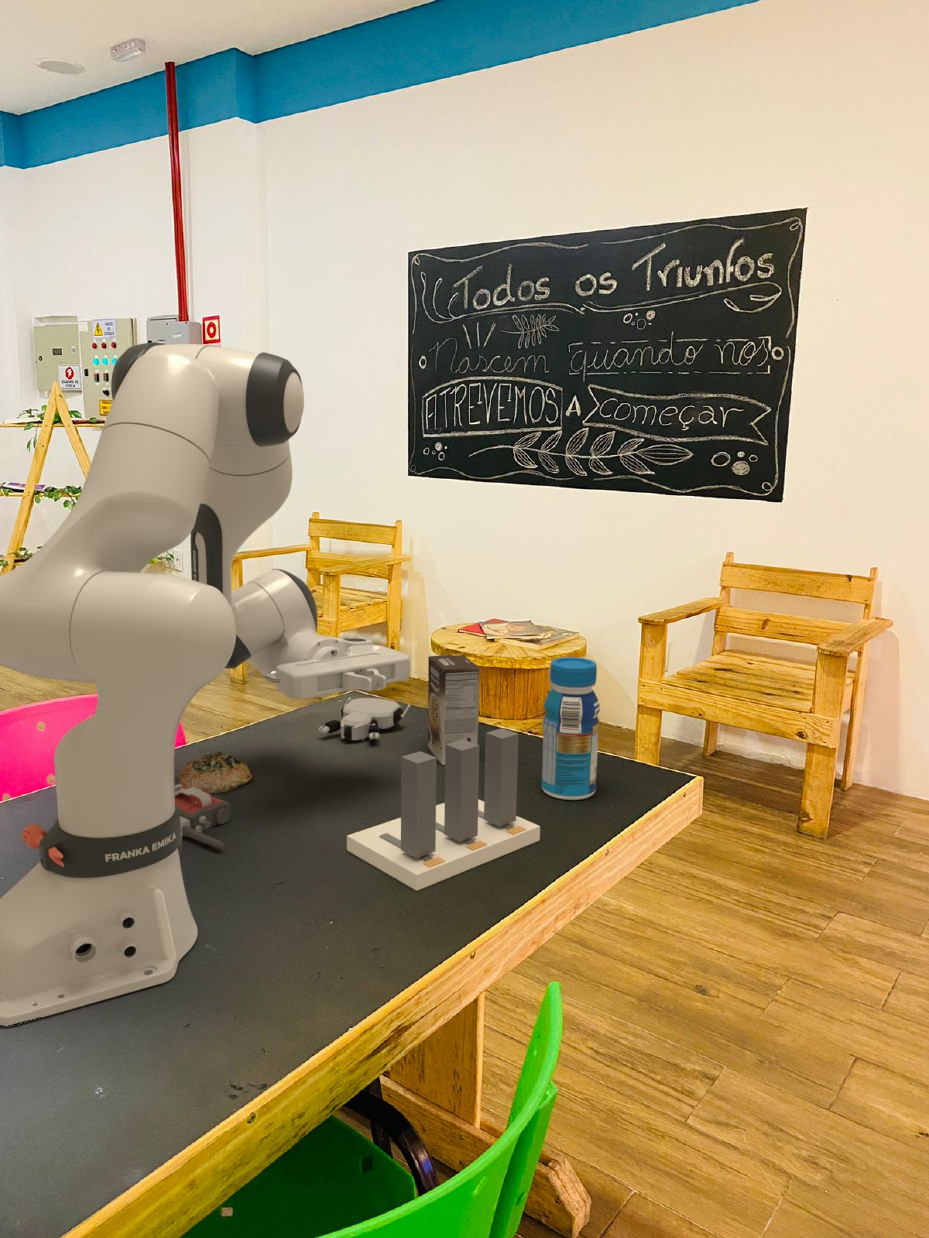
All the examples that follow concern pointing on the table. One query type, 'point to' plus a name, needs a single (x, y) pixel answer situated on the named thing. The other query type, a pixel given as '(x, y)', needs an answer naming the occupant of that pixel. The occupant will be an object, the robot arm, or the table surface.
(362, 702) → the robot toy
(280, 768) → the table surface
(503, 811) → the right switch
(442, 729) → the coffee box
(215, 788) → the bread roll
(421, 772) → the tall grey switch
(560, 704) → the beverage bottle
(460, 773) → the grey rectangular pillar
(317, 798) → the table surface
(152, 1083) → the table surface
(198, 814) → the walkie-talkie
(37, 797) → the table surface
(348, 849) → the switch bank
